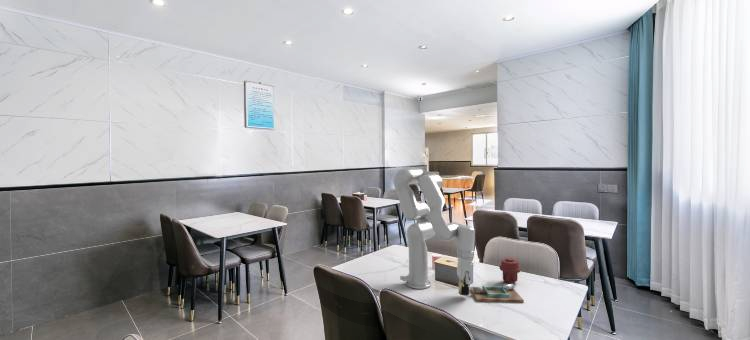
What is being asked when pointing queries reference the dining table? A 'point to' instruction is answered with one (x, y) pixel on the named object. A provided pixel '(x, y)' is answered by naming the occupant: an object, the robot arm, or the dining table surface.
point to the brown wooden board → (495, 294)
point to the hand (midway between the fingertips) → (463, 291)
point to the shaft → (508, 287)
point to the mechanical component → (510, 270)
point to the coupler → (461, 287)
